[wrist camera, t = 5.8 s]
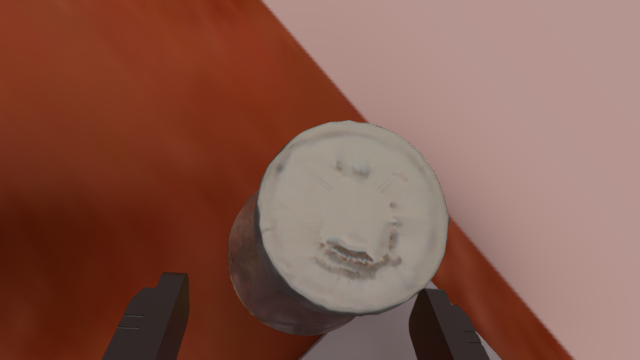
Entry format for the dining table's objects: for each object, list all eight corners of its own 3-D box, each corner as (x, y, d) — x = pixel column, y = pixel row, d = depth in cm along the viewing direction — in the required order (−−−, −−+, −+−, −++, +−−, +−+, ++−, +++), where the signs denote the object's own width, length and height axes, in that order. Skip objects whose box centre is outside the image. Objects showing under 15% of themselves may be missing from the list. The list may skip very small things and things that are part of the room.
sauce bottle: (283, 337, 25) (342, 514, 6) (219, 269, 26) (89, 231, 7) (349, 266, 27) (556, 228, 8) (288, 204, 27) (345, 27, 8)
